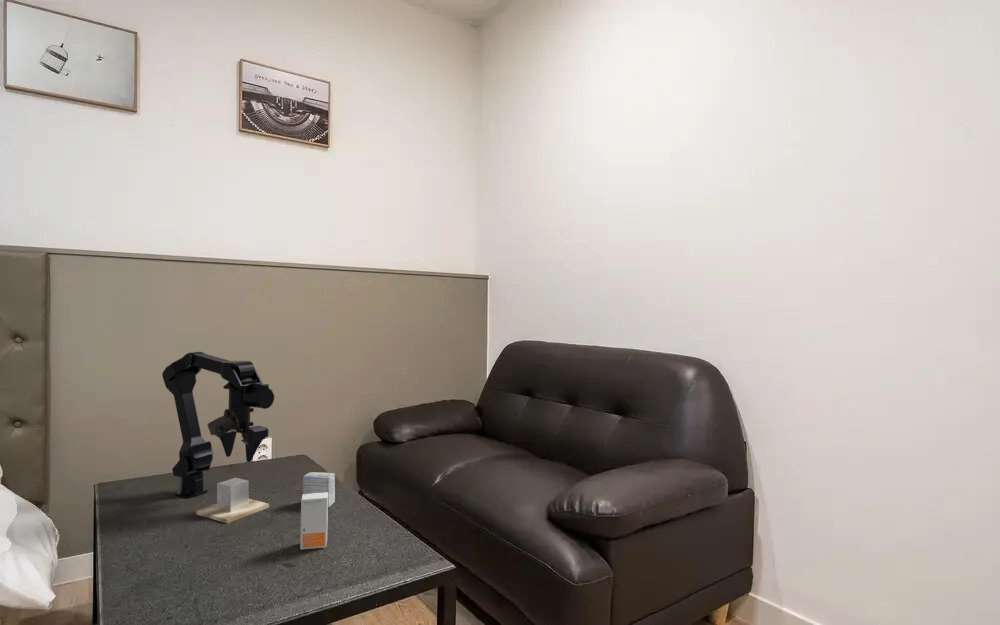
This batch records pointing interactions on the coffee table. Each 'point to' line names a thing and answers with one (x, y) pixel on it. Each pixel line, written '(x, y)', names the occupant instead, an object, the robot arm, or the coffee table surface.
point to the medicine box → (320, 484)
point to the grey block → (232, 494)
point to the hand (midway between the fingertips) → (238, 459)
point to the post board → (231, 516)
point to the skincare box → (314, 520)
